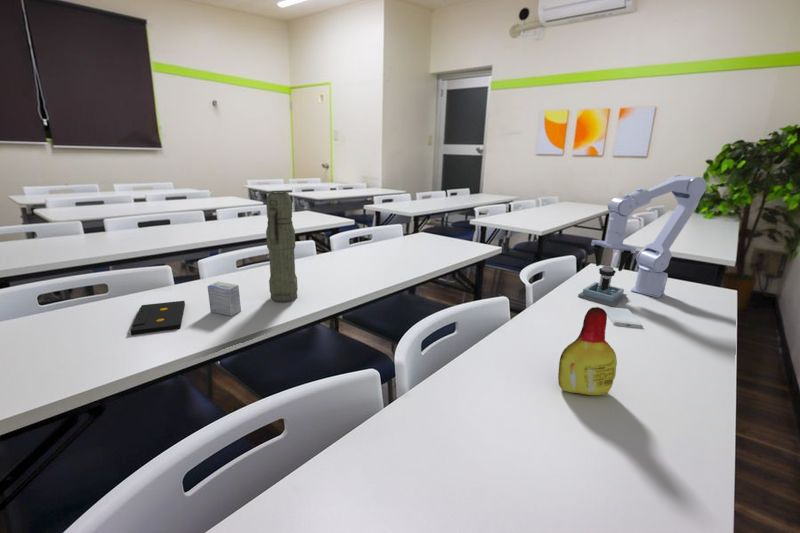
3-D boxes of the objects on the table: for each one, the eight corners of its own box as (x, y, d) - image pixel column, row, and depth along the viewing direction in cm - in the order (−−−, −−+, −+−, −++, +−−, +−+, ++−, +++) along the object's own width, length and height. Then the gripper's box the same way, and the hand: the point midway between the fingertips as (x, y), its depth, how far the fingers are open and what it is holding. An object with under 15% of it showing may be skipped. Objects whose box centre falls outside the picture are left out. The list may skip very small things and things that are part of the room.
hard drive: (602, 306, 134) (614, 321, 122) (629, 308, 132) (643, 324, 121) (601, 310, 134) (613, 326, 123) (628, 313, 133) (642, 329, 121)
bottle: (558, 397, 86) (574, 312, 80) (550, 380, 92) (564, 300, 86) (615, 401, 85) (635, 315, 79) (603, 384, 91) (621, 303, 85)
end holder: (626, 297, 146) (628, 289, 145) (613, 306, 136) (615, 298, 135) (592, 288, 154) (593, 280, 153) (578, 296, 144) (579, 289, 143)
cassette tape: (142, 310, 121) (141, 304, 120) (185, 306, 125) (184, 299, 125) (131, 337, 105) (130, 329, 105) (180, 330, 110) (179, 323, 109)
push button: (611, 292, 147) (616, 266, 144) (617, 297, 142) (622, 270, 139) (592, 290, 148) (597, 264, 145) (597, 295, 143) (602, 269, 140)
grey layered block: (241, 311, 122) (239, 284, 119) (231, 316, 118) (228, 289, 115) (220, 307, 124) (218, 280, 122) (210, 312, 120) (206, 285, 118)
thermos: (264, 303, 128) (256, 193, 117) (276, 290, 139) (270, 189, 129) (292, 305, 128) (286, 195, 117) (302, 291, 139) (297, 190, 129)
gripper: (590, 229, 144) (584, 265, 148) (635, 237, 135) (627, 275, 139) (597, 227, 149) (591, 262, 153) (641, 234, 140) (633, 270, 144)
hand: (608, 268), depth 146 cm, fingers open, 7 cm apart
